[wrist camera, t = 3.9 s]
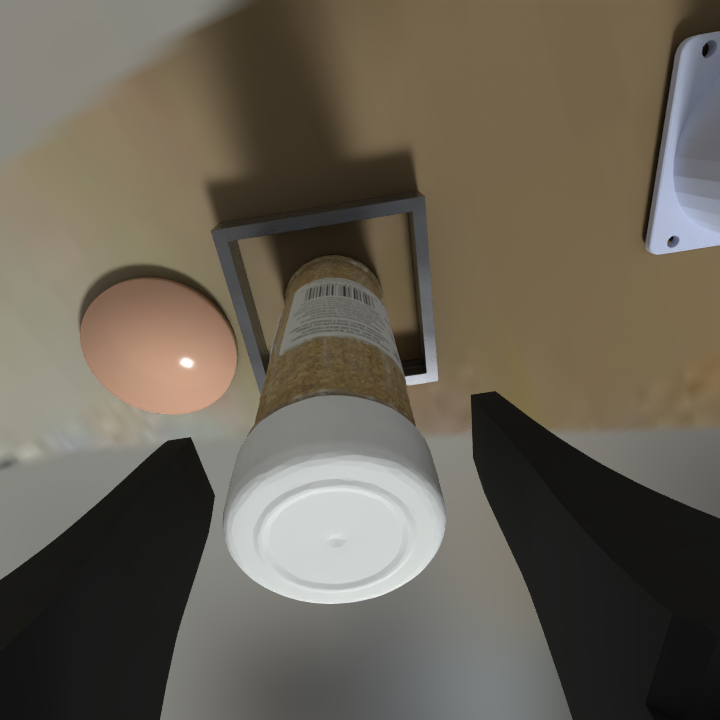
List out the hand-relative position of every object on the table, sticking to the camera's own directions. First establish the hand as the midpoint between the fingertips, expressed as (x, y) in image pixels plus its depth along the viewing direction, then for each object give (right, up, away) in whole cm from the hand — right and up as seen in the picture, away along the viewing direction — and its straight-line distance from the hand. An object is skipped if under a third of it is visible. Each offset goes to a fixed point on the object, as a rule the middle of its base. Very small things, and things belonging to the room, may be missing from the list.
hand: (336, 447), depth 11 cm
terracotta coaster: (-9, +3, +10) cm, 13 cm away
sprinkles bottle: (-1, +5, +9) cm, 11 cm away
